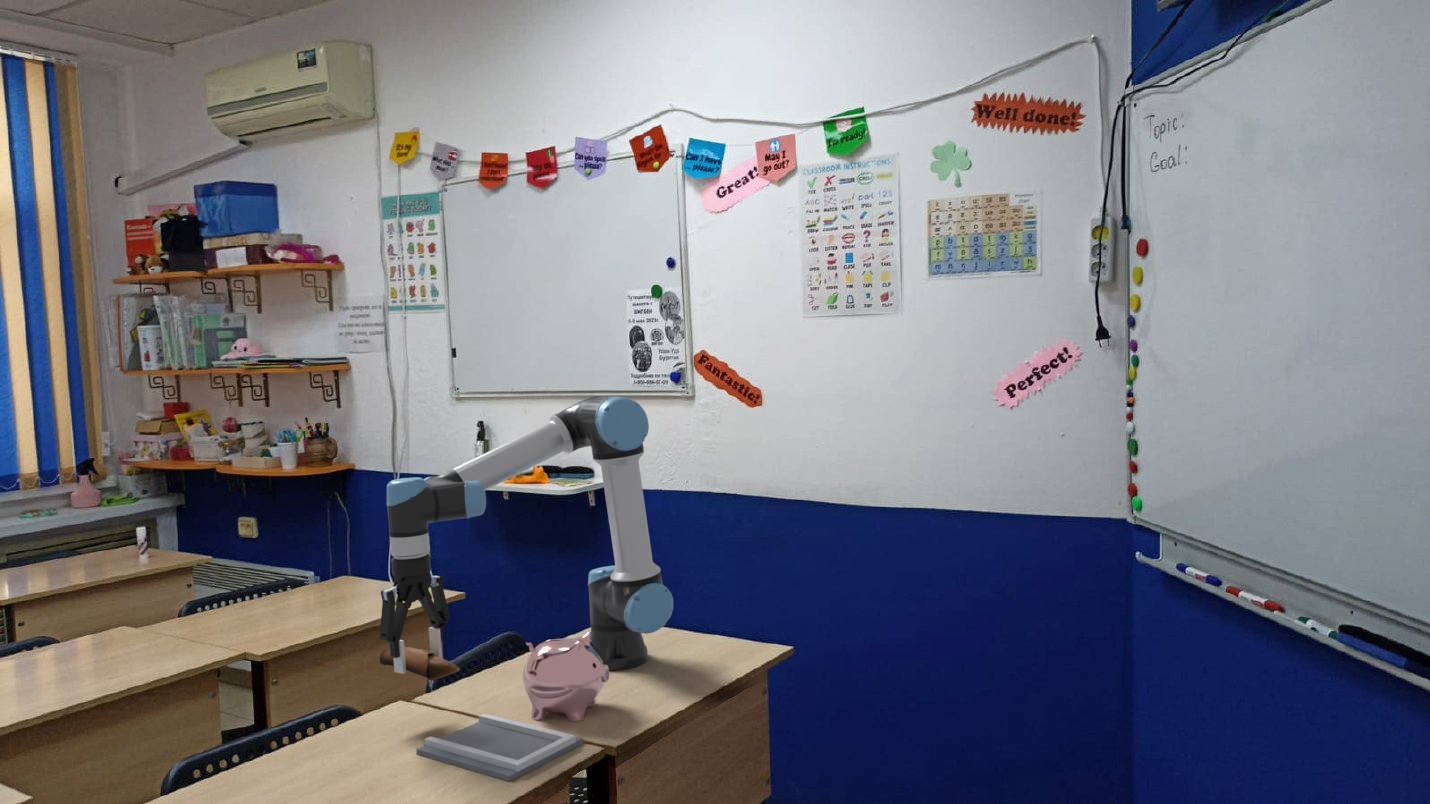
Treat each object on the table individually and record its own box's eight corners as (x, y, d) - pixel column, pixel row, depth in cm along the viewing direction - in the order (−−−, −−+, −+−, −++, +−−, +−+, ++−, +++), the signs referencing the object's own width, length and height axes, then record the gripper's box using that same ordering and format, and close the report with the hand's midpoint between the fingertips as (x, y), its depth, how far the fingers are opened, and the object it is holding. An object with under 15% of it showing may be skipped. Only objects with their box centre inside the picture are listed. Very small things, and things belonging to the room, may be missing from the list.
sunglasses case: (464, 668, 196) (447, 644, 193) (439, 694, 192) (421, 670, 189) (415, 653, 208) (398, 631, 205) (390, 678, 204) (373, 655, 201)
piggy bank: (597, 726, 195) (593, 647, 194) (513, 723, 199) (508, 646, 198) (620, 699, 210) (616, 626, 209) (541, 697, 214) (537, 625, 213)
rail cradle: (492, 720, 201) (491, 710, 201) (583, 743, 187) (582, 732, 187) (416, 754, 185) (415, 742, 185) (509, 781, 171) (509, 769, 171)
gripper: (439, 543, 208) (447, 648, 209) (353, 564, 191) (362, 679, 192) (463, 546, 204) (471, 653, 205) (377, 567, 187) (386, 684, 188)
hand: (418, 665), depth 199 cm, fingers closed on sunglasses case, 8 cm apart
